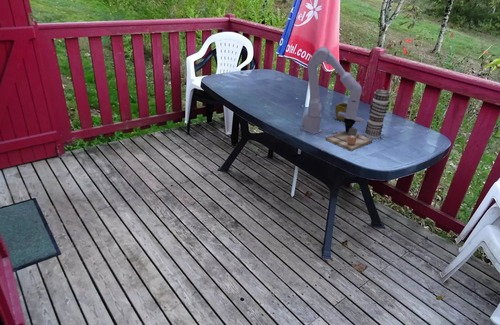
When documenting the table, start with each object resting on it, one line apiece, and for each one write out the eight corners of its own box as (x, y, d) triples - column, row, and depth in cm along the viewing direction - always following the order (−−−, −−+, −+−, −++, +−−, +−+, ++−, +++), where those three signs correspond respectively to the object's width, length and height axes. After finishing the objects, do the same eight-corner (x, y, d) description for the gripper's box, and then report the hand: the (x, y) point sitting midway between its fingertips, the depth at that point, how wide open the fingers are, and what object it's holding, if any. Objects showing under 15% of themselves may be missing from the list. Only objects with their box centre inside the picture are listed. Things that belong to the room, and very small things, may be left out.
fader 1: (348, 134, 191) (349, 128, 189) (351, 133, 192) (352, 126, 191) (352, 136, 189) (354, 129, 187) (356, 134, 190) (357, 128, 189)
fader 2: (347, 142, 180) (348, 136, 179) (350, 141, 182) (351, 134, 181) (352, 144, 178) (353, 138, 177) (355, 143, 180) (356, 136, 179)
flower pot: (340, 116, 222) (343, 102, 218) (353, 120, 217) (356, 106, 212) (332, 119, 216) (335, 104, 212) (345, 123, 211) (348, 108, 207)
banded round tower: (381, 139, 192) (393, 94, 181) (364, 136, 194) (374, 91, 183) (380, 133, 200) (391, 89, 189) (363, 130, 202) (373, 87, 191)
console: (325, 140, 187) (325, 137, 186) (346, 132, 198) (347, 129, 197) (351, 151, 176) (351, 148, 175) (372, 142, 188) (372, 139, 187)
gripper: (336, 105, 188) (332, 129, 194) (360, 113, 179) (355, 138, 185) (343, 103, 192) (339, 126, 199) (367, 110, 183) (362, 134, 190)
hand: (347, 131), depth 192 cm, fingers closed
